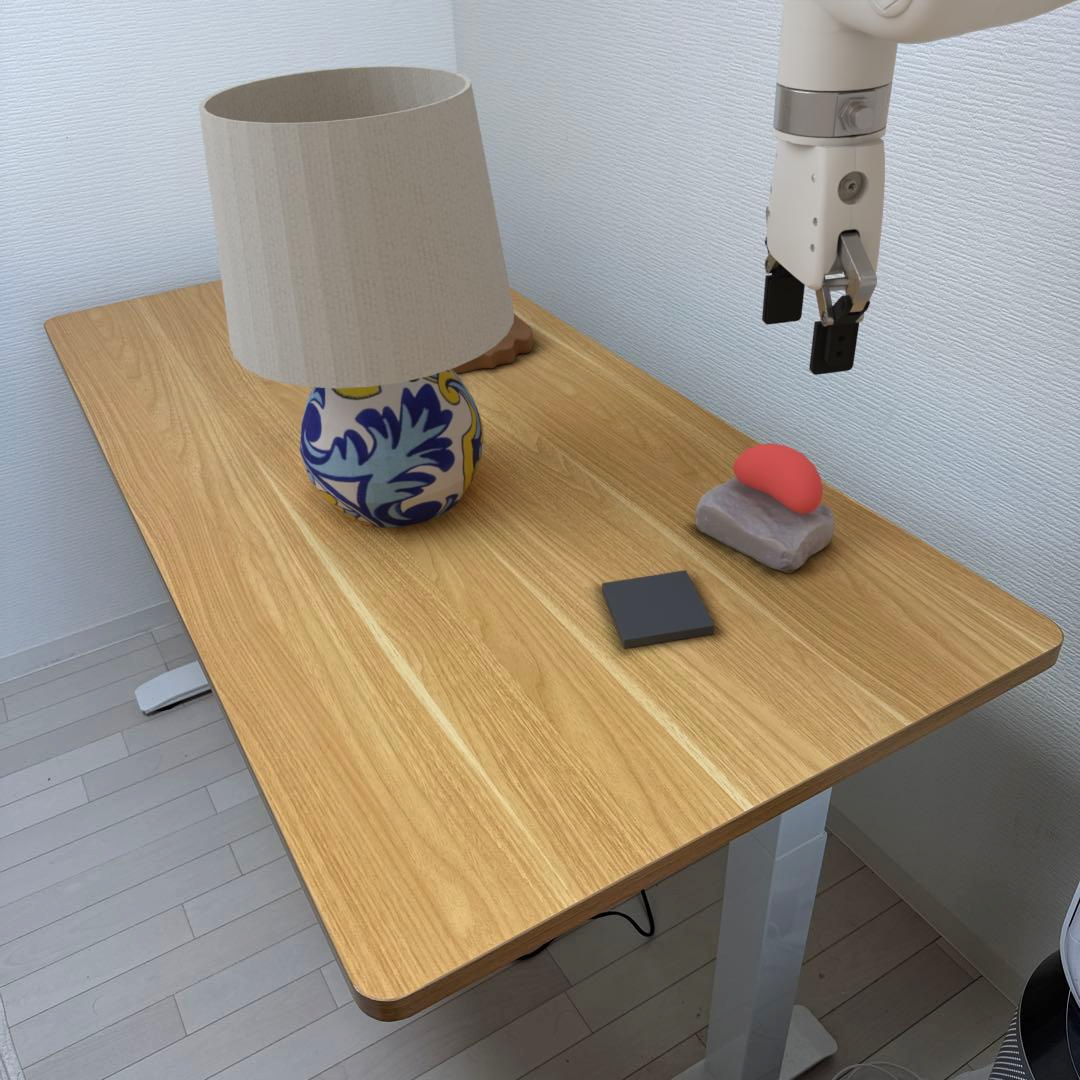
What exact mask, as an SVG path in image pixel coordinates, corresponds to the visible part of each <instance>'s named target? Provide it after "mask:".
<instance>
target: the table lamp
mask: <svg viewBox="0 0 1080 1080" xmlns="http://www.w3.org/2000/svg"><path fill="white" fill-rule="evenodd" d="M474 95H475V94H474V91H473V84H472V80H471V79H470V78H469V77H468V76H467V75H465V74H463V73H461V72H457V71H453V70H450V69H445V68H439V67H432V66H421V65H420V66H419V65H391V64H390V65H389V64H388V65H360V66H359V65H358V66H342V67H332V68H321V69H313V70H305V71H297V72H291V73H284V74H278V75H273V76H268V77H263V78H257V79H254V80H250V81H245V82H242V83H237V84H235V85H231V86H229V87H226V88H223V89H220V90H218V91H216V92H214V93H211V94H209V95H208V96H206V97H205V98H204V99H202V100H201V101H200V103H199V106H198V111H199V118H200V125H201V133H202V141H203V148H204V156H205V163H206V172H207V178H208V187H209V194H210V201H211V210H212V217H213V225H214V231H215V232H214V233H215V240H216V248H217V255H218V262H219V270H220V278H221V286H222V294H223V298H224V299H223V300H224V301H223V302H224V309H225V317H226V322H227V323H226V324H227V331H228V338H229V346H230V347H229V348H230V350H231V353H232V355H233V358H234V359H235V360H236V362H238V363H239V364H240V365H241V366H242V367H243V368H244V369H245V370H247V371H249V372H251V373H253V374H255V375H256V376H259V377H261V378H265V379H267V380H271V381H274V382H277V383H281V384H286V385H292V386H299V387H304V388H312V389H311V390H310V393H309V396H308V398H307V400H306V404H305V408H304V412H303V415H302V419H301V424H300V425H301V426H300V438H299V439H300V440H299V453H300V455H301V459H302V463H303V466H304V470H305V472H306V475H307V477H308V479H309V481H310V482H311V483H312V484H313V486H314V487H315V488H316V489H317V491H318V492H319V493H320V494H321V495H322V496H323V497H324V499H325V500H326V501H327V502H328V503H329V504H330V505H331V506H333V507H334V508H335V509H337V510H338V511H339V512H340V513H342V514H343V515H345V516H346V517H347V518H349V519H351V520H352V521H354V522H356V523H359V524H360V525H361V524H362V525H364V526H365V525H366V526H370V527H374V528H386V529H387V528H389V529H391V528H404V527H410V526H415V525H419V524H423V523H426V522H429V521H431V520H434V519H436V518H438V517H440V516H442V515H444V514H446V513H447V512H449V511H450V510H451V509H452V508H454V507H455V506H456V505H457V503H458V502H459V501H460V500H461V499H462V497H463V496H464V494H465V493H466V491H467V490H468V488H469V487H470V485H471V484H472V483H473V481H474V479H475V477H476V474H477V471H478V469H479V466H480V463H481V461H482V459H483V456H484V452H485V451H484V450H485V431H484V422H483V420H482V417H481V415H480V412H479V409H478V406H477V405H476V402H475V399H474V397H473V395H472V394H471V392H470V391H469V389H468V388H467V386H466V385H465V383H464V382H463V380H462V378H461V377H460V376H459V375H458V373H455V372H454V371H453V370H452V368H455V367H458V366H460V365H462V364H464V363H466V362H469V361H471V360H473V359H475V358H477V357H479V356H481V355H482V354H484V353H485V352H487V351H488V350H490V349H491V348H493V347H495V346H496V345H497V344H498V343H499V342H500V341H501V340H502V339H503V338H504V337H505V336H506V335H507V334H508V332H509V330H510V328H511V326H512V325H513V323H514V314H515V309H514V303H513V298H512V292H511V289H510V283H509V277H508V271H507V266H506V262H505V261H506V260H505V256H504V255H505V254H504V251H503V250H504V249H503V246H502V240H501V233H500V230H499V223H498V219H497V213H496V207H495V201H494V197H493V192H492V187H491V181H490V176H489V170H488V165H487V160H486V154H485V149H484V148H485V147H484V144H483V138H482V134H481V132H482V131H481V127H480V122H479V117H478V111H477V106H476V101H475V96H474Z"/></svg>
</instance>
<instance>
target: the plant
mask: <svg viewBox="0 0 1080 1080" xmlns="http://www.w3.org/2000/svg"><path fill="white" fill-rule="evenodd" d="M533 333H534V332H533V328H532V327H531V326H530V325H529V324H527V323H526V322H525V321H524V320H522V319H521V318H520V317H519V316H518V315H517V314H516V313H514V323H513V325H512V326H511V328H510V330H509V332H508V334H507V335H506V336H505V337H504V338H503V339H502V340H501V341H500V342H499V343H498V344H497V345H496V346H495V347H493V348H491V349H490V350H488V351H487V352H485V353H484V354H482V355H481V356H479V357H477V358H475V359H473V360H471V361H469V362H466V363H464V364H462V365H460V366H458V367H455V368H452V370H453V371H454V372H455V373H456V374H462V373H468V372H472V371H475V370H479V369H480V370H482V369H494V368H496V367H497V366H499V365H500V366H501V365H508V364H512V363H513V362H514V361H515V359H516V356H517V355H519V354H520V355H521V354H528V353H530V351H531V350H532V349H533V346H534V334H533Z"/></svg>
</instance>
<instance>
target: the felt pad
mask: <svg viewBox="0 0 1080 1080" xmlns="http://www.w3.org/2000/svg"><path fill="white" fill-rule="evenodd" d="M601 592H602V595H603V597H604V601H605V603H606V605H607V608H608V610H609V614H610V615H611V618H612V621H613V624H614V626H615V629H616V632H617V634H618V637H619V639H620V642H621V644H622V646H623V647H622V648H623V649H629V648H636V647H637V648H638V647H642V646H643V647H644V646H648V645H654V644H661V643H667V642H673V641H679V640H684V639H690V638H696V637H702V636H709V635H713V634H715V624H714V622H713V620H712V618H711V616H710V614H709V612H708V610H707V608H706V606H705V604H704V603H703V601H702V599H701V597H700V594H699V593H698V591H697V588H696V587H695V585H694V583H693V581H692V579H691V577H690V575H689V574H688V571H687V570H677V571H672V572H666V573H660V574H659V573H658V574H652V575H645V576H641V577H634V578H633V577H632V578H628V579H627V578H626V579H621V580H615V581H614V580H613V581H609V582H602V583H601Z"/></svg>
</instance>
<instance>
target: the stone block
mask: <svg viewBox="0 0 1080 1080" xmlns="http://www.w3.org/2000/svg"><path fill="white" fill-rule="evenodd" d="M694 514H695V526H696V529H698V531H700V532H702V533H703V534H705V535H706V536H709V537H711V538H713V539H714V540H716V541H717V542H720V543H722V544H723V545H725V546H727V547H729V548H732V549H733V550H735V551H737V552H739V553H740V554H743V555H744V556H747V557H750V558H752V559H754V560H755V561H756V562H758V563H760V564H762V565H763V566H766V567H768V568H769V569H773V570H776V571H781V572H784V573H786V574H792V573H793V572H794V571H796V570H798V569H799V568H801V567H802V566H804V564H805V563H806V562H807V560H808V559H809V558H810V557H811V556H813V555H815V554H817V553H818V552H820V551H822V550H823V549H824V548H826V547H827V546H828V545H829V544H830V542H831V540H832V538H833V535H834V533H835V528H836V524H835V516H834V515H835V514H834V512H833V511H832V510H831V508H830V507H829V506H827V505H824V504H822V503H820V504H819V506H818V508H817V509H815V510H814V511H812V512H810V513H805V514H801V513H796V512H794V511H792V510H790V509H789V508H787V507H786V506H784V505H783V504H782V503H780V502H779V501H777V500H776V499H775V498H773V497H772V496H771V495H769V494H767V493H764V492H761V491H758V490H756V489H753V488H751V487H749V486H746V485H744V484H743V483H741V482H740V481H739V480H738V479H737V478H736V477H735V478H734V477H733V478H729V479H728V480H727V481H726V482H724V483H722V484H717V485H716V486H715V487H713V488H711V489H709V490H707V491H706V492H705V493H704V494H703V495H702V496H701V497H700V499H699V501H698V503H697V505H696V509H695V513H694Z"/></svg>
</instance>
